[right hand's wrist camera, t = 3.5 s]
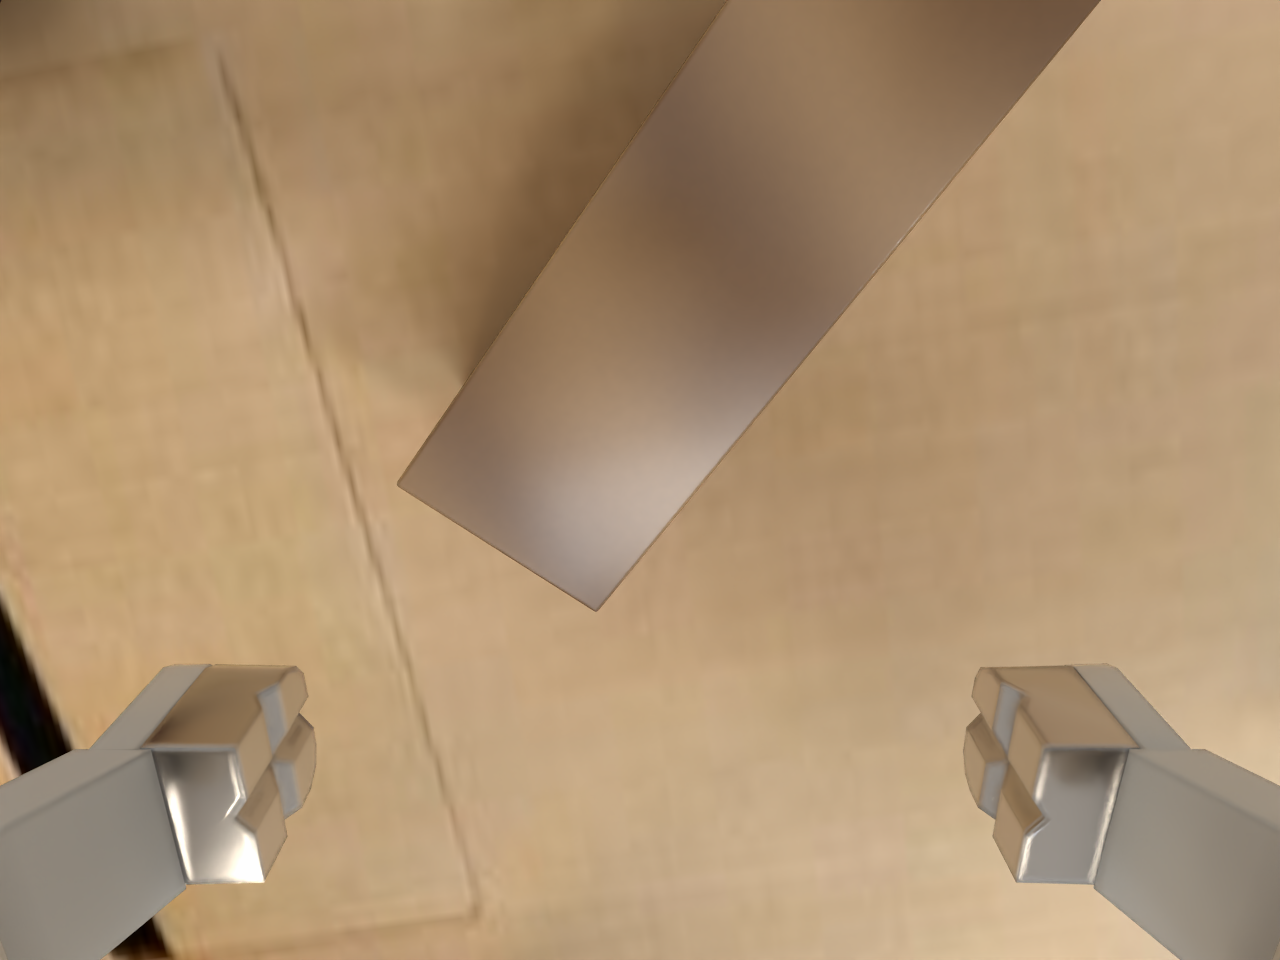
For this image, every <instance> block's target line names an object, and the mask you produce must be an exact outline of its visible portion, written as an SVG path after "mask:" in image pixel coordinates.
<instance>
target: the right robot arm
mask: <svg viewBox="0 0 1280 960" xmlns="http://www.w3.org/2000/svg"><path fill="white" fill-rule="evenodd" d="M307 698H308V692H307V688H306V683H305V678H304V673H303V672H302V671H301V670H300V669H299V668H298V667H297V666H272V665H224V664H216V665H211V664H174V665H170V666H167V667H163V668H162V669H161V671H160V672H159V673H158V674H157V675H156V676H155V677H154V678H153V679H152V680H151V681H150V683H149V684H148V685H147V686H146V687H145V688H144V689H143V690H142V691H141V692H140V694H139V695H138V696H137V697H136V698H135V699H134V700H133V701H132V702H131V703H130V705H129V706H128V707H127V708H126V709H125V710H124V711H123V712H122V713H121V714H120V716H119V717H118V718H117V719H116V720H115V721H114V722H113V723H112V724H111V725H110V727H109V728H108V729H107V730H106V731H105V732H104V733H103V734H102V735H101V736H100V738H99V739H98V740H97V741H96V742H95V743H94V744H93V745H92V746H91V747H90V749H75V750H73V751H71V752H69V753H67V754H65V755H62V756H60V757H58V758H56V759H54V760H52V761H50V762H48V763H46V764H44V765H42V766H40V767H38V768H36V769H34V770H32V771H30V772H28V773H26V774H24V775H21V776H19V777H17V778H15V779H13V780H11V781H9V782H7V783H5V784H3V785H1V786H0V960H100V959H102V958H103V957H104V956H105V955H107V954H108V953H109V952H110V951H111V950H113V949H114V948H115V947H116V946H117V945H119V944H120V943H121V942H122V941H123V940H125V939H126V938H127V937H128V936H129V935H131V934H132V933H133V932H134V931H136V930H137V929H138V928H139V927H140V926H142V925H143V924H144V923H145V922H146V921H148V920H149V919H150V918H151V917H152V916H154V915H155V914H156V913H157V912H159V911H160V910H161V909H162V908H163V907H165V906H166V905H167V904H168V903H169V902H171V901H172V900H173V899H174V898H175V897H177V896H178V895H179V894H180V893H182V892H183V891H184V890H185V889H186V884H221V883H255V882H264V881H265V879H266V877H267V875H268V873H269V871H270V869H271V867H272V866H273V864H274V862H275V860H276V858H277V856H278V854H279V852H280V850H281V848H282V846H283V844H284V842H285V840H286V838H287V832H286V826H285V821H284V820H285V819H286V818H288V817H289V816H290V815H292V814H293V813H295V812H296V811H298V810H299V809H300V808H302V806H303V804H304V802H305V800H306V798H307V796H308V794H309V792H310V790H311V786H312V781H313V777H314V772H315V768H316V739H315V733H314V727H313V726H312V725H311V724H310V723H309V722H308V721H307V720H306V719H305V718H304V717H303V716H302V715H301V714H300V713H299V712H300V710H301V708H302V707H303V705H304V703H305V701H306V700H307ZM972 698H973V700H974V701H975V703H976V705H977V707H978V708H979V710H980V712H981V713H980V714H979V715H978V716H977V717H976V718H975V719H974V720H973V721H972V722H971V723H970V724H969V725H968V726H967V727H966V734H965V742H964V749H963V754H964V765H965V775H966V778H967V782H968V785H969V789H970V792H971V794H972V796H973V798H974V800H975V802H976V804H977V806H978V808H980V809H981V810H982V811H984V812H985V813H987V814H988V815H990V816H991V817H992V818H994V819H995V820H996V821H995V826H994V832H993V838H994V840H995V842H996V844H997V846H998V848H999V850H1000V852H1001V854H1002V856H1003V858H1004V860H1005V862H1006V863H1007V865H1008V867H1009V869H1010V871H1011V873H1012V875H1013V877H1014V879H1015V881H1016V882H1022V883H1058V884H1094V889H1095V890H1096V891H1098V892H1099V893H1100V894H1101V895H1103V896H1104V897H1105V898H1106V899H1107V900H1109V901H1110V902H1111V903H1112V904H1113V905H1115V906H1116V907H1117V908H1118V909H1119V910H1121V911H1122V912H1123V913H1124V914H1125V915H1127V916H1128V917H1129V918H1130V919H1131V920H1133V921H1134V922H1135V923H1136V924H1138V925H1139V926H1140V927H1141V928H1142V929H1144V930H1145V931H1146V932H1147V933H1148V934H1150V935H1151V936H1152V937H1153V938H1154V939H1156V940H1157V941H1158V942H1159V943H1160V944H1162V945H1163V946H1164V947H1165V948H1166V949H1168V950H1169V951H1170V952H1171V953H1173V954H1174V955H1175V956H1176V957H1177V958H1179V959H1180V960H1280V786H1279V785H1277V784H1275V783H1273V782H1271V781H1269V780H1267V779H1265V778H1262V777H1260V776H1258V775H1256V774H1254V773H1252V772H1250V771H1248V770H1246V769H1244V768H1242V767H1240V766H1238V765H1236V764H1234V763H1232V762H1230V761H1228V760H1226V759H1224V758H1222V757H1220V756H1217V755H1215V754H1213V753H1211V752H1209V751H1207V750H1205V749H1190V747H1189V746H1188V745H1187V744H1186V743H1185V742H1184V741H1183V740H1182V739H1181V738H1180V736H1179V735H1178V734H1177V733H1176V732H1175V731H1174V730H1173V729H1172V728H1171V727H1170V725H1169V724H1168V723H1167V722H1166V721H1165V720H1164V719H1163V718H1162V717H1161V716H1160V714H1159V713H1158V712H1157V711H1156V710H1155V709H1154V708H1153V707H1152V706H1151V705H1150V703H1149V702H1148V701H1147V700H1146V699H1145V698H1144V697H1143V696H1142V695H1141V694H1140V692H1139V691H1138V690H1137V689H1136V688H1135V687H1134V686H1133V685H1132V684H1131V683H1130V681H1129V680H1128V679H1127V678H1126V677H1125V676H1124V675H1123V674H1122V673H1121V672H1120V670H1119V669H1118V668H1116V667H1113V666H1111V665H1109V664H1079V665H1065V666H1020V667H980V669H979V671H978V673H977V675H976V677H975V681H974V686H973V692H972Z"/></svg>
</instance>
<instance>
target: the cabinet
mask: <svg viewBox="0 0 1280 960" xmlns="http://www.w3.org/2000/svg"><path fill="white" fill-rule="evenodd" d="M1100 1H1101V0H727V1H726V2H725V4H724V5H723V7H722V8H721V10H720V11H719V12H718V14H717V15H716V17H715V18H714V20H713V21H712V23H711V24H710V26H709V27H708V29H707V30H706V32H705V33H704V34H703V36H702V37H701V39H700V40H699V42H698V43H697V45H696V46H695V48H694V49H693V51H692V52H691V53H690V55H689V56H688V58H687V59H686V61H685V62H684V64H683V65H682V67H681V68H680V70H679V71H678V72H677V74H676V75H675V77H674V78H673V80H672V81H671V83H670V84H669V86H668V87H667V89H666V90H665V91H664V93H663V94H662V96H661V97H660V99H659V100H658V102H657V103H656V105H655V106H654V108H653V109H652V110H651V112H650V113H649V115H648V116H647V118H646V119H645V121H644V122H643V124H642V125H641V127H640V128H639V129H638V131H637V132H636V134H635V135H634V137H633V138H632V140H631V141H630V143H629V144H628V146H627V147H626V148H625V150H624V151H623V153H622V154H621V156H620V157H619V159H618V160H617V162H616V163H615V165H614V166H613V167H612V169H611V170H610V172H609V173H608V175H607V176H606V178H605V179H604V181H603V182H602V184H601V185H600V186H599V188H598V189H597V191H596V192H595V194H594V195H593V197H592V198H591V200H590V201H589V203H588V204H587V205H586V207H585V208H584V210H583V211H582V213H581V214H580V216H579V217H578V219H577V220H576V222H575V223H574V224H573V226H572V227H571V229H570V230H569V232H568V233H567V235H566V236H565V238H564V239H563V241H562V242H561V243H560V245H559V246H558V248H557V249H556V251H555V252H554V254H553V255H552V257H551V258H550V260H549V261H548V262H547V264H546V265H545V267H544V268H543V270H542V271H541V273H540V274H539V276H538V277H537V279H536V280H535V281H534V283H533V284H532V286H531V287H530V289H529V290H528V292H527V293H526V295H525V296H524V298H523V299H522V300H521V302H520V303H519V305H518V306H517V308H516V309H515V311H514V312H513V314H512V315H511V317H510V318H509V319H508V321H507V322H506V324H505V325H504V327H503V328H502V330H501V331H500V333H499V334H498V336H497V337H496V338H495V340H494V341H493V343H492V344H491V346H490V347H489V349H488V350H487V352H486V353H485V355H484V356H483V357H482V359H481V360H480V362H479V363H478V365H477V366H476V368H475V369H474V371H473V372H472V374H471V375H470V376H469V378H468V379H467V381H466V382H465V384H464V385H463V387H462V388H461V390H460V391H459V393H458V394H457V396H456V397H455V398H454V400H453V401H452V403H451V404H450V406H449V407H448V409H447V410H446V412H445V413H444V415H443V416H442V417H441V419H440V420H439V422H438V423H437V425H436V426H435V428H434V429H433V431H432V432H431V434H430V435H429V436H428V438H427V439H426V441H425V442H424V444H423V445H422V447H421V448H420V450H419V451H418V453H417V454H416V455H415V457H414V458H413V460H412V461H411V463H410V464H409V466H408V467H407V469H406V470H405V472H404V473H403V474H402V476H401V477H400V479H399V480H398V482H397V485H398V487H400V488H401V489H403V490H404V491H406V492H408V493H409V494H411V495H412V496H414V497H415V498H417V499H419V500H420V501H422V502H423V503H425V504H426V505H428V506H430V507H431V508H433V509H434V510H436V511H437V512H439V513H441V514H442V515H444V516H445V517H447V518H448V519H450V520H452V521H453V522H455V523H456V524H458V525H459V526H461V527H463V528H464V529H466V530H467V531H469V532H471V533H472V534H474V535H475V536H477V537H478V538H480V539H482V540H483V541H485V542H486V543H488V544H489V545H491V546H493V547H494V548H496V549H497V550H499V551H500V552H502V553H504V554H505V555H507V556H508V557H510V558H511V559H513V560H515V561H516V562H518V563H519V564H521V565H522V566H524V567H526V568H527V569H529V570H530V571H532V572H534V573H535V574H537V575H538V576H540V577H541V578H543V579H545V580H546V581H548V582H549V583H551V584H552V585H554V586H556V587H557V588H559V589H560V590H562V591H563V592H565V593H567V594H568V595H570V596H571V597H573V598H574V599H576V600H578V601H579V602H581V603H582V604H584V605H585V606H587V607H589V608H590V609H592V610H593V611H598V610H599V609H600V608H601V607H602V605H603V604H604V603H605V602H606V601H607V599H608V598H609V597H610V596H611V594H612V593H613V592H614V591H615V590H616V588H617V587H618V586H619V585H620V584H621V582H622V581H623V580H624V579H625V577H626V576H627V575H628V574H629V573H630V571H631V570H632V569H633V568H634V567H635V565H636V564H637V563H638V562H639V560H640V559H641V558H642V557H643V556H644V554H645V553H646V552H647V551H648V550H649V548H650V547H651V546H652V545H653V543H654V542H655V541H656V540H657V539H658V537H659V536H660V535H661V534H662V533H663V531H664V530H665V529H666V528H667V526H668V525H669V524H670V523H671V522H672V520H673V519H674V518H675V517H676V516H677V514H678V513H679V512H680V511H681V509H682V508H683V507H684V506H685V505H686V503H687V502H688V501H689V500H690V499H691V497H692V496H693V495H694V494H695V492H696V491H697V490H698V489H699V488H700V486H701V485H702V484H703V483H704V482H705V480H706V479H707V478H708V477H709V475H710V474H711V473H712V472H713V471H714V469H715V468H716V467H717V466H718V465H719V463H720V462H721V461H722V460H723V458H724V457H725V456H726V455H727V454H728V452H729V451H730V450H731V449H732V448H733V446H734V445H735V444H736V443H737V441H738V440H739V439H740V438H741V437H742V435H743V434H744V433H745V432H746V431H747V429H748V428H749V427H750V426H751V424H752V423H753V422H754V421H755V420H756V418H757V417H758V416H759V415H760V414H761V412H762V411H763V410H764V409H765V407H766V406H767V405H768V404H769V403H770V401H771V400H772V399H773V398H774V397H775V395H776V394H777V393H778V392H779V390H780V389H781V388H782V387H783V386H784V384H785V383H786V382H787V381H788V380H789V378H790V377H791V376H792V375H793V373H794V372H795V371H796V370H797V369H798V367H799V366H800V365H801V364H802V363H803V361H804V360H805V359H806V358H807V356H808V355H809V354H810V353H811V352H812V350H813V349H814V348H815V347H816V346H817V344H818V343H819V342H820V341H821V339H822V338H823V337H824V336H825V335H826V333H827V332H828V331H829V330H830V329H831V327H832V326H833V325H834V324H835V322H836V321H837V320H838V319H839V318H840V316H841V315H842V314H843V313H844V312H845V310H846V309H847V308H848V307H849V305H850V304H851V303H852V302H853V301H854V299H855V298H856V297H857V296H858V295H859V293H860V292H861V291H862V290H863V288H864V287H865V286H866V285H867V284H868V282H869V281H870V280H871V279H872V278H873V276H874V275H875V274H876V273H877V271H878V270H879V269H880V268H881V267H882V265H883V264H884V263H885V262H886V261H887V259H888V258H889V257H890V256H891V254H892V253H893V252H894V251H895V250H896V248H897V247H898V246H899V245H900V244H901V242H902V241H903V240H904V239H905V237H906V236H907V235H908V234H909V233H910V231H911V230H912V229H913V228H914V227H915V225H916V224H917V223H918V222H919V220H920V219H921V218H922V217H923V216H924V214H925V213H926V212H927V211H928V210H929V208H930V207H931V206H932V205H933V203H934V202H935V201H936V200H937V199H938V197H939V196H940V195H941V194H942V193H943V191H944V190H945V189H946V188H947V186H948V185H949V184H950V183H951V182H952V180H953V179H954V178H955V177H956V176H957V174H958V173H959V172H960V171H961V169H962V168H963V167H964V166H965V165H966V163H967V162H968V161H969V160H970V159H971V157H972V156H973V155H974V154H975V152H976V151H977V150H978V149H979V148H980V146H981V145H982V144H983V143H984V142H985V140H986V139H987V138H988V137H989V135H990V134H991V133H992V132H993V131H994V129H995V128H996V127H997V126H998V125H999V123H1000V122H1001V121H1002V120H1003V118H1004V117H1005V116H1006V115H1007V114H1008V112H1009V111H1010V110H1011V109H1012V108H1013V106H1014V105H1015V104H1016V103H1017V101H1018V100H1019V99H1020V98H1021V97H1022V95H1023V94H1024V93H1025V92H1026V91H1027V89H1028V88H1029V87H1030V86H1031V85H1032V83H1033V82H1034V81H1035V80H1036V78H1037V77H1038V76H1039V75H1040V74H1041V72H1042V71H1043V70H1044V69H1045V68H1046V66H1047V65H1048V64H1049V63H1050V61H1051V60H1052V59H1053V58H1054V57H1055V55H1056V54H1057V53H1058V52H1059V51H1060V49H1061V48H1062V47H1063V46H1064V44H1065V43H1066V42H1067V41H1068V40H1069V38H1070V37H1071V36H1072V35H1073V34H1074V32H1075V31H1076V30H1077V29H1078V27H1079V26H1080V25H1081V24H1082V23H1083V21H1084V20H1085V19H1086V18H1087V17H1088V15H1089V14H1090V13H1091V12H1092V10H1093V9H1094V8H1095V7H1096V6H1097V4H1098V3H1099V2H1100Z"/></svg>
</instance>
